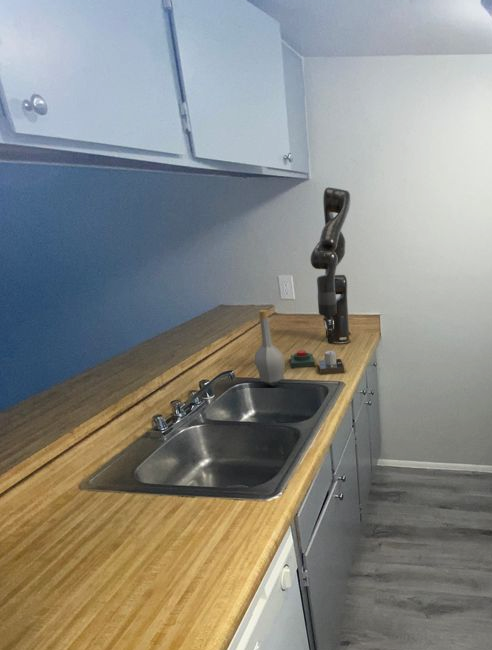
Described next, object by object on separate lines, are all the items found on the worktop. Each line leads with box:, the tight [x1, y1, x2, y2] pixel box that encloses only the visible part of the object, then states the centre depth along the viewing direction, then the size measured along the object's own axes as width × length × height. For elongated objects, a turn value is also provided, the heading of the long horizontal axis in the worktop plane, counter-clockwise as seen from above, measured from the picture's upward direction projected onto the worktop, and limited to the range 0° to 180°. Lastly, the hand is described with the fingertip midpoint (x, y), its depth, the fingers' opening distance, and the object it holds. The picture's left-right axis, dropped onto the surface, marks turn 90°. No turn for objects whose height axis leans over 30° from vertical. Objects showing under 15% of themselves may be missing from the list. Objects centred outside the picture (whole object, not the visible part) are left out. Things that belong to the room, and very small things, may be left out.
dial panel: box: [318, 358, 345, 375], centre depth 208 cm, size 12×10×3 cm
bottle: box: [253, 309, 286, 387], centre depth 182 cm, size 11×11×30 cm
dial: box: [324, 350, 337, 365], centre depth 206 cm, size 5×5×5 cm
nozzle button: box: [296, 349, 307, 356], centre depth 213 cm, size 4×4×2 cm
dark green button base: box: [290, 352, 315, 369], centre depth 214 cm, size 12×10×4 cm
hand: (329, 340), depth 202 cm, fingers open, 8 cm apart
